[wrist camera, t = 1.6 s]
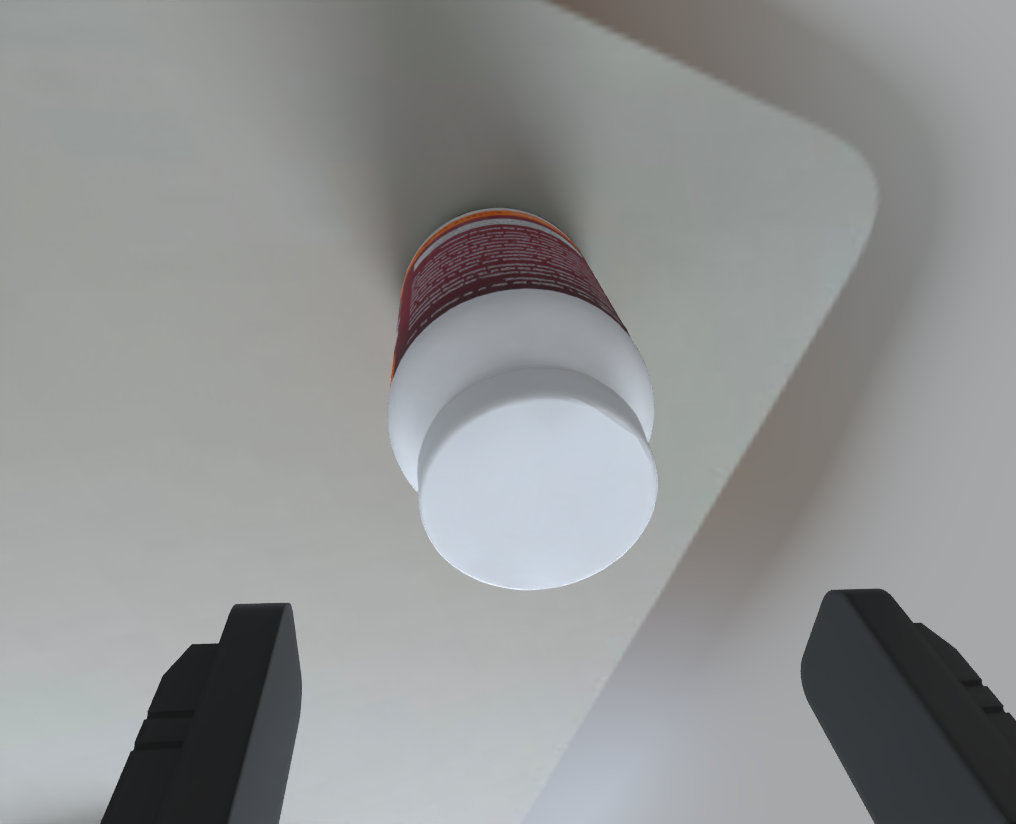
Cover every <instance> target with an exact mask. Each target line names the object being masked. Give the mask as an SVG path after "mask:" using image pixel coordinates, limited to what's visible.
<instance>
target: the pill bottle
mask: <svg viewBox="0 0 1016 824" xmlns="http://www.w3.org/2000/svg"><path fill="white" fill-rule="evenodd" d="M653 420H654V396H653V388H652V384H651V380H650V376H649V373H648V370H647V367H646V365H645V363H644V360H643V358H642V356H641V355H640V353H639V351H638V349H637V347H636V345H635V344H634V342H633V340H632V339H631V337H630V335H629V333H628V331H627V329H626V327H625V326H624V325H623V323H622V322H621V320H620V319H619V317H618V315H617V313H616V312H615V310H614V308H613V307H612V305H611V303H610V301H609V299H608V298H607V296H606V295H605V293H604V291H603V290H602V288H601V286H600V284H599V283H598V281H597V279H596V278H595V276H594V274H593V272H592V271H591V269H590V267H589V266H588V264H587V262H586V261H585V259H584V257H583V256H582V254H581V252H580V251H579V249H578V248H577V247H576V246H575V244H574V243H573V242H572V241H571V240H570V239H569V238H568V237H567V236H566V235H565V234H564V233H563V232H562V231H560V230H559V229H558V228H557V227H555V226H554V225H552V224H551V223H549V222H548V221H546V220H544V219H542V218H540V217H539V216H536V215H534V214H531V213H528V212H525V211H521V210H516V209H509V208H488V209H481V210H476V211H472V212H469V213H466V214H463V215H461V216H458V217H456V218H454V219H452V220H450V221H448V222H447V223H445V224H444V225H442V226H441V227H439V228H438V229H437V230H435V231H434V232H433V233H432V234H431V235H430V236H429V237H428V238H427V239H426V240H425V241H424V242H423V244H422V245H421V246H420V247H419V249H418V250H417V252H416V253H415V255H414V257H413V259H412V260H411V262H410V265H409V267H408V269H407V272H406V275H405V278H404V282H403V286H402V291H401V298H400V308H399V317H398V325H397V330H396V343H395V351H394V360H393V367H392V375H391V384H390V392H389V406H388V428H389V436H390V442H391V445H392V449H393V452H394V455H395V458H396V460H397V462H398V464H399V466H400V468H401V470H402V472H403V474H404V475H405V477H406V478H407V480H408V482H409V483H410V484H411V485H412V487H413V488H414V489H415V490H416V491H417V492H418V498H419V510H420V516H421V519H422V523H423V526H424V528H425V531H426V533H427V535H428V537H429V539H430V541H431V542H432V544H433V545H434V547H435V548H436V550H437V551H438V552H439V553H440V554H441V556H442V557H443V558H444V559H445V560H447V561H448V562H449V563H450V564H451V565H452V566H454V567H455V568H457V569H458V570H459V571H461V572H463V573H464V574H466V575H468V576H470V577H472V578H474V579H476V580H478V581H481V582H484V583H486V584H490V585H494V586H498V587H503V588H508V589H517V590H540V589H548V588H555V587H560V586H564V585H568V584H571V583H575V582H577V581H580V580H583V579H585V578H587V577H590V576H592V575H594V574H596V573H598V572H600V571H602V570H603V569H605V568H607V567H608V566H609V565H611V564H612V563H613V562H615V561H616V560H618V559H619V558H620V557H622V556H623V555H624V554H625V553H626V552H627V551H628V550H629V549H630V548H631V546H632V545H633V544H634V543H635V542H636V541H637V540H638V538H639V537H640V536H641V534H642V532H643V531H644V529H645V527H646V526H647V524H648V523H649V520H650V518H651V516H652V513H653V510H654V507H655V504H656V499H657V490H658V476H657V468H656V464H655V459H654V457H653V454H652V451H651V449H650V446H649V440H650V437H651V432H652V427H653Z"/></svg>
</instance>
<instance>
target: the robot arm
mask: <svg viewBox="0 0 1016 824" xmlns="http://www.w3.org/2000/svg"><path fill="white" fill-rule="evenodd" d="M801 680H802V685H803V690H804V693H805V696H806V698H807V701H808V703H809V705H810V706H811V708H812V710H813V712H814V714H815V715H816V717H817V719H818V721H819V723H820V725H821V726H822V728H823V730H824V732H825V734H826V736H827V737H828V739H829V741H830V743H831V745H832V747H833V748H834V750H835V752H836V754H837V756H838V757H839V759H840V761H841V763H842V765H843V767H844V768H845V770H846V772H847V774H848V775H849V778H850V779H851V781H852V783H853V785H854V787H855V788H856V790H857V792H858V794H859V795H860V798H861V799H862V801H863V803H864V805H865V806H866V809H867V810H868V812H869V814H870V816H871V818H872V819H873V821H874V823H875V824H1016V720H1015V719H1014V718H1013V717H1012V716H1011V714H1010V713H1005V712H1004V710H1003V705H1002V704H1001V702H1000V701H999V700H998V699H997V698H996V696H995V695H994V694H993V693H992V692H991V690H990V689H989V688H988V687H987V686H983V685H982V680H981V678H979V676H978V675H977V673H976V672H975V671H974V670H973V669H972V668H971V666H970V665H969V664H968V663H967V661H966V660H965V659H964V658H963V657H962V655H961V654H960V653H959V652H958V651H957V649H955V648H954V647H952V646H951V645H950V644H949V643H947V642H946V641H945V640H943V639H942V638H941V637H939V636H938V635H937V634H935V633H934V632H932V631H931V630H930V629H929V628H927V627H926V626H925V625H923V624H922V623H913V622H912V621H911V620H910V618H909V617H908V616H907V615H906V613H905V612H904V611H903V610H902V608H901V607H900V606H899V605H898V603H897V602H896V601H895V600H894V598H893V597H892V596H891V595H890V594H889V593H888V592H886V591H884V590H882V589H850V590H849V589H847V590H831V591H829V592H828V593H826V595H825V596H824V598H823V600H822V603H821V606H820V609H819V612H818V615H817V617H816V620H815V623H814V626H813V629H812V632H811V634H810V637H809V640H808V643H807V646H806V649H805V652H804V654H803V658H802V662H801ZM301 697H302V680H301V670H300V662H299V655H298V648H297V640H296V633H295V625H294V618H293V611H292V607H291V604H290V603H261V604H236V605H234V606H233V608H232V609H231V611H230V614H229V616H228V619H227V622H226V625H225V628H224V630H223V633H222V636H221V639H220V642H219V644H192V645H191V646H190V647H189V648H188V649H187V650H186V651H185V652H184V653H183V655H182V656H181V657H180V658H179V659H178V660H177V661H176V662H175V663H174V664H173V665H172V666H171V668H170V669H169V670H168V671H167V672H166V673H165V674H164V675H163V677H162V679H161V681H160V684H159V686H158V689H157V691H156V693H155V696H154V698H153V700H152V703H151V705H150V707H149V710H148V716H147V719H146V720H144V722H143V724H142V726H141V729H140V731H139V734H138V736H137V738H136V741H135V747H134V750H133V751H131V752H130V755H129V757H128V760H127V762H126V764H125V767H124V769H123V771H122V774H121V776H120V778H119V781H118V783H117V786H116V788H115V790H114V793H113V795H112V797H111V800H110V802H109V804H108V807H107V809H106V812H105V814H104V816H103V819H102V821H101V823H100V824H279V819H280V814H281V809H282V804H283V799H284V794H285V789H286V784H287V779H288V774H289V769H290V764H291V759H292V754H293V749H294V744H295V739H296V734H297V729H298V724H299V718H300V710H301Z"/></svg>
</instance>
